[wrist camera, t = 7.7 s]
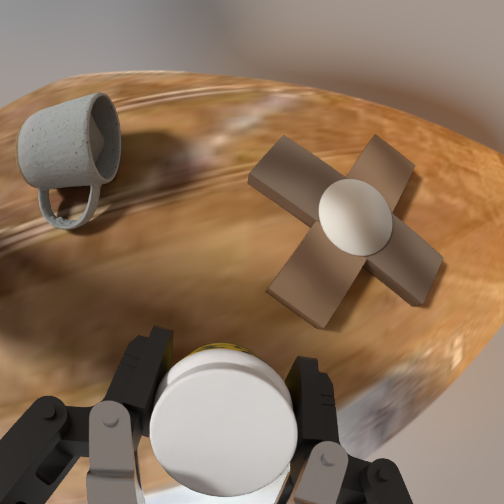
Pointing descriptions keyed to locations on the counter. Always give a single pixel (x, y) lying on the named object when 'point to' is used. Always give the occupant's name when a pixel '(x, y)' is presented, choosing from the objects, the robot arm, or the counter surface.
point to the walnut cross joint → (344, 227)
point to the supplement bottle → (223, 422)
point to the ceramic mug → (70, 151)
